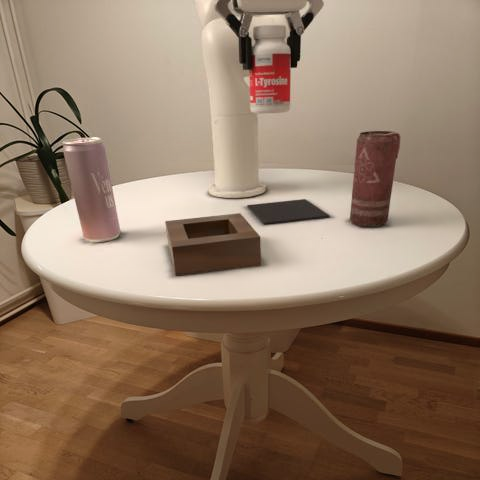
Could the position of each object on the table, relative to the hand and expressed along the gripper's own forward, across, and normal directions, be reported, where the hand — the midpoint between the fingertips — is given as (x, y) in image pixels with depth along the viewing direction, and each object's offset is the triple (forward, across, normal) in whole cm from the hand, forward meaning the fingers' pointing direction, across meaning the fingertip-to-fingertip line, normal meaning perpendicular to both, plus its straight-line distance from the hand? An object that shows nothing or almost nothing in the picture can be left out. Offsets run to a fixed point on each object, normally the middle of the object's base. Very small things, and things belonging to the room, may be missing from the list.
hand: (269, 67), depth 63 cm
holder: (+23, +13, +14) cm, 30 cm away
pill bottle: (+6, 0, 0) cm, 6 cm away
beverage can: (+23, +29, 0) cm, 37 cm away
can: (+23, -15, +7) cm, 29 cm away
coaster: (+23, -4, -3) cm, 24 cm away
